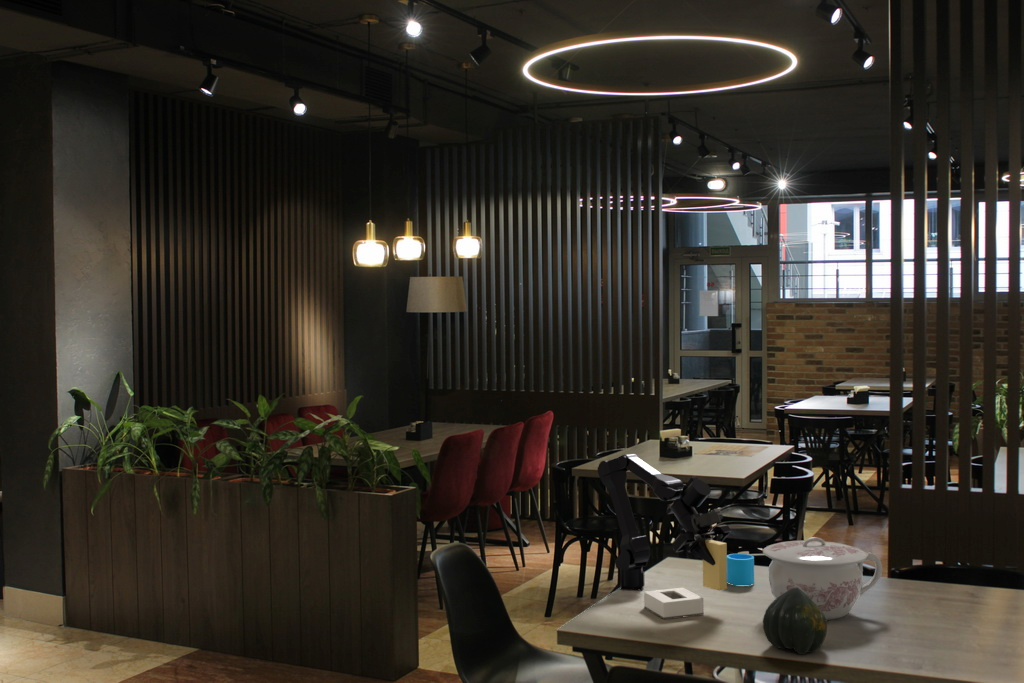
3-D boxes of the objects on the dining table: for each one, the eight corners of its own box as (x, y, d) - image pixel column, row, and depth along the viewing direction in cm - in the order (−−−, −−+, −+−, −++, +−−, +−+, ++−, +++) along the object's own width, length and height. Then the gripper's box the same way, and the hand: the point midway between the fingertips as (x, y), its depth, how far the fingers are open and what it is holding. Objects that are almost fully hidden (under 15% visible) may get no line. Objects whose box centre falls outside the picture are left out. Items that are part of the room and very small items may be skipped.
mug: (751, 579, 310) (751, 553, 309) (756, 586, 301) (756, 559, 301) (712, 580, 310) (711, 553, 310) (716, 587, 302) (716, 560, 302)
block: (703, 586, 278) (702, 541, 277) (710, 584, 279) (710, 539, 279) (719, 590, 273) (719, 544, 272) (727, 588, 275) (726, 543, 274)
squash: (783, 640, 233) (814, 586, 237) (742, 626, 246) (772, 575, 251) (820, 674, 237) (850, 620, 242) (778, 658, 251) (807, 607, 255)
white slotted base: (644, 607, 281) (644, 591, 281) (682, 603, 285) (682, 587, 285) (663, 619, 270) (663, 602, 270) (703, 614, 273) (703, 598, 273)
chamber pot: (744, 615, 272) (743, 539, 272) (792, 594, 292) (791, 523, 292) (843, 635, 253) (842, 553, 253) (887, 611, 273) (886, 535, 273)
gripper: (679, 503, 273) (710, 551, 265) (726, 496, 284) (757, 541, 276) (659, 528, 280) (688, 575, 271) (705, 519, 291) (735, 564, 282)
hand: (718, 563), depth 275 cm, fingers closed on block, 3 cm apart
